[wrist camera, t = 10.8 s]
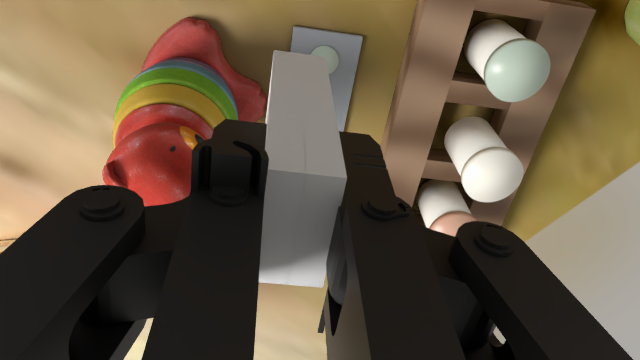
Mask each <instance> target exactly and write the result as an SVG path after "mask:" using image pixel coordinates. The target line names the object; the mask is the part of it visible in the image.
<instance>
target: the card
mask: <svg viewBox="0 0 640 360" xmlns="http://www.w3.org/2000/svg"><path fill="white" fill-rule="evenodd" d="M362 40H363V36H362V35H355V34H348V33H342V32H335V31H328V30H321V29H314V28H308V27H301V26H294V25H293V33H292V41H291V48H290V52H293V53H301V54H308V55H315V56H322V57H326V63H327V68H328V74H329V80H330V85H331V91H332V96H333V102H334V108H335V113H336V119H337V124H338V130H339V131H342V132H343V131H344V127H345V122H346V117H347V112H348V107H349V102H350V98H351V93H352V88H353V83H354V78H355V73H356V69H357V64H358V59H359V54H360V49H361V44H362Z"/></svg>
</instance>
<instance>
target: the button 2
mask: <svg viewBox="0 0 640 360" xmlns="http://www.w3.org/2000/svg"><path fill="white" fill-rule="evenodd" d="M464 55H465V57H466V59H467V61H468V62H469V63H470V65H471V66H472V67H473V68H474V69H475V70H476V71H477V73H478V74H479V75H480V76H481V77H482V78H483V80H484V81H485V84H486V86H487V88H488V89H489V91H490V92H491V93H492V94H493V95H494V96H495V97H496V98H498V99H500V100H502V101H506V102H518V101H522V100H525V99H527V98H529V97H531V96H532V95H534V94H535V93H536V92H538V91H539V90H540V89H541V87H542V86H543V85H544V83H545V82H546V80H547V78H548V76H549V73H550V66H551V64H550V58H549V55H548V53H547V51H546V50H545V49H544V48H543V47H542V46H541V45H539V44H538V43H537V42H535V41H533V40H530V39H527V38H525V37H524V36H523V35H521V34H520V33H519V32H518V31H516V30H515V29H514V28H512V27H511V26H510V25H508V24H507V23H506V22H504V21H502V20H498V19H490V20H486V21H483V22H481V23H479V24H477V25H476V26H475V27H474V28H473V29H472V30H471V31H470V32H469V34H468V35H467V37H466V40H465V43H464Z"/></svg>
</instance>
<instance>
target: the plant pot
mask: <svg viewBox="0 0 640 360" xmlns="http://www.w3.org/2000/svg"><path fill="white" fill-rule="evenodd" d="M624 17H625V23H626V30H627V33H628V35H629V36H630V37H631V38H632V39H633V40H634V41H635V42H636V43H637V44H639V45H640V0H630V1H629V3H628V5H627V7H626V10H625V16H624Z"/></svg>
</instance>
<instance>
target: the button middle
mask: <svg viewBox="0 0 640 360" xmlns="http://www.w3.org/2000/svg"><path fill="white" fill-rule="evenodd" d="M444 144H445V148H446V150H447V152H448V154H449V156H450V157H451V159H452V161H453V163H454V165H455V167H456V169H457V171H458V172H459V174H460V176H461V183H462V185H463V187H464V189H465V191H466V193H467V194H468V195H469V196H470V197H471V198H472V199H474V200H476V201H480V202H495V201H499V200H501V199H504V198H506V197H507V196H509V195H510V194H512V193H513V192H514V191H515V190H516V189H517V188H518V186H519V185H520V183H521V181H522V178H523V166H522V163H521V162H520V160H519V159H518V157H517V156H516V155H515V154H514V153H513V152H512V151H511V150H509V149H508V148H507V147H506V146H505V144H504V143H503V142H502V140H501V139H500V138H499V136H498V135H497V134H496V132H495V131H494V130H493V128H492V127H491V126H490V124H489V123H488V122H487V121H486V120H485V119H483V118H480V117H476V116H469V117H465V118H462V119H460V120H458V121H456V122H455V123H454V124H452V125H451V127H450V128H449V129H448V131H447V132H446V135H445V139H444Z"/></svg>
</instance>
